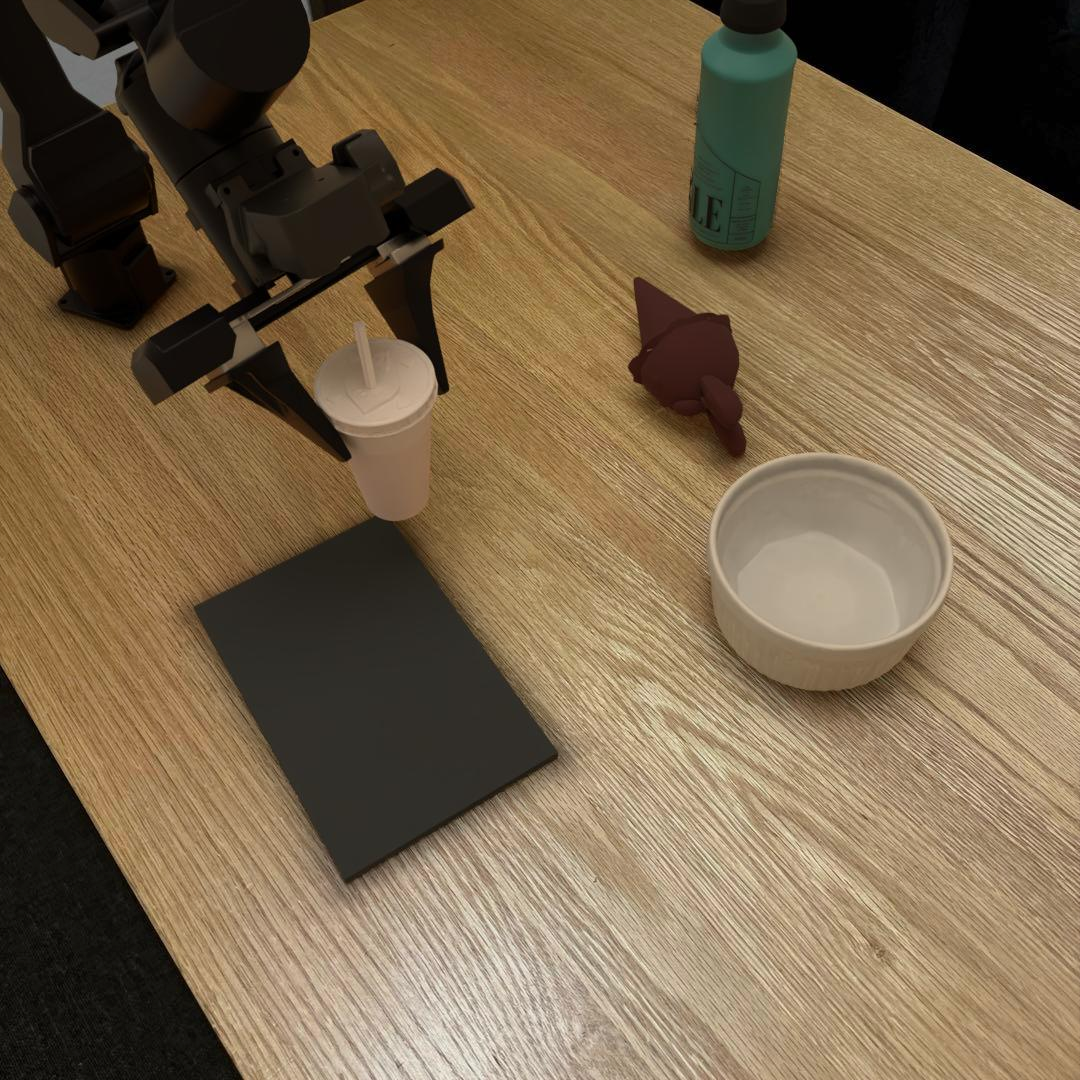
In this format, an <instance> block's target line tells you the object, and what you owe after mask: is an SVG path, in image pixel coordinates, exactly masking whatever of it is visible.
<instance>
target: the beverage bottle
mask: <svg viewBox="0 0 1080 1080" xmlns="http://www.w3.org/2000/svg"><path fill="white" fill-rule="evenodd" d="M719 11H720V12H719V18H720V21H721V23H722V24H723V26H721V27H720V28H718V29H716V30H715V31H714V32H713V33H711V34H710V35H709V36H708V37H707V38H706V39H705V41H704V42H703V44H702V46H701V49H700V61H701V62H700V74H699V75H700V76H699V85H697V86H698V93H696V94H695V96H696V98H697V99H696V102H695V105H696V106H697V107H695V108H694V109H695V113H696V114H695V116H694V119H696V122H694V123H693V125H694V126H695V136H694V146H693V153H692V155H693V162H692V164H691V166H690V171H691V172H690V178H689V185H688V186H689V187H688V188H689V190H688V203H687V204H688V205H687V206H688V213H689V214H687V217H686V218H688V220H687V221H688V224H689V226H690V228H691V231H692V233H693V234H694V236H695V237H696V239H698V240H699V241H700V242H702V243H703V244H706V245H707V246H709V247H711V248H714V249H717V250H724V251H741V250H747V249H750V248H752V247H755V246H757V245H759V244H760V243H762V242H763V241H764V240H765V239H766V238H767V237H768V235H769V233H770V231H771V229H773V228H774V226H775V224H776V222H774V221H776V217H777V210H778V203H779V197H780V196H779V195H780V186H779V183H781V180H782V179H780V178H782V176H783V174H782V172H781V169H783V168H784V167H783V166H784V165H783V164H784V163H783V162H784V158H783V155H784V152H785V151H784V148H786V143H787V142H786V137H785V136H786V128H787V120H788V115H789V109H790V107H789V106H790V99H791V93H792V88H793V87H792V86H793V79H794V73H795V68H796V67H795V66H796V64H797V60H798V50H797V47H796V44H795V43H794V42H793V40H792V39H791V37H789V35H788V34H786V32H784V31H783V30H782V29H781V27H783V25H784V24H785V22H786V20H787V11H788V9H787V0H722V2H721V5H720V10H719Z"/></svg>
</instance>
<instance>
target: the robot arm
mask: <svg viewBox="0 0 1080 1080" xmlns="http://www.w3.org/2000/svg"><path fill="white" fill-rule="evenodd" d="M49 40H50V41H51V42H53V43H54V44H56V45H59V46H61V47H63V48H65V50H67V51H69V52H70V53H71V54H73V55H75V56H78V57H81V56H82V57H85V58H86V59H88V60H91V61H96V60H99V59H100V58H101V57H102V58H103V57H104V56H106V55H109V54H111V53H112V52H115V51H117V50H119V49H121V48H123V47H125V46H127V45H129V44H131V43H135V45H136V47H137V48H135V49H133V50H131V51H129V52H127V53H125V54H123V55H121V56H119V57H117V58H115V59H114V66H115V70H116V86H115V90H114V98H115V102H116V106H117V108H118V110H119V112H120V113H121V115H123V116H126V117H127V116H128V117H129V119H130V120H131V122H132V123H133V125H134V127H135V129H136V130H137V132H138V133H139V135H140V136H141V138H142V140H143V141H144V142H145V143H146V145H147V147H148V149H150V151H151V152H152V154H153V156H154V158H155V159H156V160H157V162H158V163H159V165H160V166H161V168H162V170H163V171H164V173H165V174H166V176H167V177H168V179H169V181H170V182H171V184H172V185H173V187H174V188H175V190H176V191H177V193H178V194H179V196H180V197H181V199H182V201H183V202H184V204H185V205H186V206H187V208H188V209H187V211H186V212H185V213H184V216H186V218H187V220H188V221H189V223H190V225H191V226H192V227H193V229H194V230H195V231H196V232H198V231H200V230H201V229H202V231H203V232H204V234H205V235H206V237H207V239H208V241H209V242H210V244H211V245H212V246H213V248H214V249H215V251H216V252H217V255H219V257H220V259H221V260H222V262H223V263H224V265H225V266H226V268H227V270H228V271H229V272H230V274H231V275H232V277H233V278H234V280H235V281H233V282H232V283H231V287H232V288H233V290H234V291H235V293H236V294H237V296H238V297H239V300H238V301H236V302H235V303H233V304H231V305H230V306H228V307H226V308H225V309H223V310H220V311H219V310H218V309H216V307H214V306H213V305H212V304H210V303H209V302H207V303H205V304H204V305H202V306H200V307H199V308H196V309H195V310H194V311H192V312H189V313H188V314H187V315H185V316H183V317H182V318H180V319H178V320H176V321H175V322H173V323H171V324H170V325H167V326H166V327H165V328H163V329H161V330H159V331H158V332H156V333H154V334H153V335H151V336H149V337H148V338H147V339H146V340H145V341H144V342H142V343H141V344H140V345H139V346H138V347H137V348H136V349H134V350H133V352H132V353H131V359H130V360H131V361H130V370H131V372H132V374H133V377H134V379H135V380H136V382H137V383H138V385H139V386H140V388H141V389H142V390H143V392H144V394H145V396H147V398H148V399H149V401H150V402H151V403H152V405H153V407H156V406H157V405H159V404H160V403H163V402H164V401H166V400H167V399H169V398H171V397H173V396H174V395H175V394H178V393H179V392H180V391H182V390H184V389H185V388H187V387H188V386H190V385H192V384H194V383H195V382H197V381H199V380H200V379H202V378H203V377H205V376H206V378H207V379H208V382H206V383H205V384H203V388H204V389H205V391H206V392H207V393H208V394H212V393H214V392H216V391H217V390H219V389H221V388H223V387H225V388H226V389H229V390H231V392H234V393H236V394H237V395H239V396H240V397H243V398H245V399H246V400H247V401H250V402H251V403H253V404H255V405H257V406H258V407H261V408H263V409H264V410H266V411H267V412H269V413H271V414H272V415H274V416H275V417H277V418H278V419H280V420H281V421H282V422H283V423H285V424H287V425H288V426H290V427H291V428H292V429H294V430H295V431H296V432H298V433H299V434H301V436H303V437H305V438H306V439H308V440H309V441H310V442H311V443H313V444H315V445H316V446H317V447H318V448H320V449H321V450H322V451H324V452H325V453H327V454H328V455H330V456H331V457H333V459H334V460H337V462H340V463H342V464H343V463H348V462H347V461H349V460H350V459H351V458H352V456H351V453H350V452H349V450H348V448H347V446H346V445H345V443H344V441H343V439H342V438H341V436H340V434H339V433H338V431H337V430H336V429H335V427H334V426H333V425H332V423H331V422H330V421H329V419H328V418H327V417H326V415H325V414H324V413H323V412H322V410H321V409H320V408H319V406H318V405H317V404H316V401H315V399H314V398H313V397H312V396H311V394H310V393H309V392H308V390H307V389H306V388H305V387H304V385H303V384H302V383H301V381H300V380H299V379H298V377H297V376H296V375H295V373H294V372H293V370H292V368H291V366H290V363H289V361H288V359H287V357H286V354H285V351H284V350H283V347H282V345H281V342H280V341H279V340H276V341H274V342H272V343H271V344H269V345H268V346H267V345H265V343H264V342H263V339H262V338H261V337H260V335H259V334H258V332H260V331H262V330H263V329H264V328H266V327H267V326H269V325H271V324H272V323H274V322H276V321H277V320H279V319H281V318H282V317H284V316H286V315H287V314H289V313H290V312H293V311H294V310H295V309H297V308H299V307H300V306H301V305H303V304H305V303H307V302H308V301H310V300H312V299H313V298H315V297H316V296H318V295H320V294H322V293H323V292H324V291H327V290H328V289H329V288H331V287H333V286H334V285H336V284H338V283H339V282H341V281H342V280H344V279H346V278H347V277H349V276H350V275H352V274H354V273H355V272H357V271H359V270H361V269H362V268H363V267H366V268H367V269H368V271H369V273H370V274H371V277H373V279H372V280H371V281H369V282H367V283H366V284H364V285H363V286H362V287H363V288H364V290H365V291H366V293H367V295H368V296H369V298H370V300H371V301H372V303H373V304H374V306H375V307H376V310H378V312H379V314H380V315H381V317H382V318H383V319H384V321H385V323H386V324H387V326H388V327H389V329H390V331H391V332H392V334H393V335H394V337H395V339H399V340H402V341H405V342H408V343H410V344H413V345H414V346H416V347H418V348H419V349H420V350H422V351H423V352H424V353H425V354H426V355H427V356H428V358H429V359H430V361H431V362H432V364H433V367H434V371H435V376H436V379H437V383H438V391H437V396H439V397H440V396H443V395H445V394H447V393H448V392H450V382H449V379H448V374H447V370H446V366H445V360H444V356H443V353H442V352H443V351H442V346H441V342H440V338H439V334H438V329H437V324H436V320H435V314H434V309H433V307H434V306H433V300H432V299H433V298H432V289H431V279H432V273H433V265H434V259H435V257H436V255H437V254H438V253H440V252H441V251H443V250H444V249H445V241H444V238H443V237H441V238H440V239H438V240H436V241H435V242H433V243H432V242H431V240H430V238H429V237H431V236H433V235H434V234H436V233H437V232H439V231H441V230H442V229H444V228H445V227H447V226H449V225H451V224H452V223H453V222H455V221H457V220H458V219H460V218H462V217H463V216H465V215H466V214H468V213H470V212H471V211H473V210H474V209H476V206H475V204H474V203H473V200H471V199H472V198H470V196H469V194H468V192H467V191H466V189H465V187H464V186H463V183H462V182H461V180H460V179H458V178H457V177H455V176H454V175H453V174H451V173H449V172H448V171H445V170H443V169H441V168H439V167H435V168H434V169H432V170H430V171H429V172H427V173H425V174H424V175H422V176H420V177H418V178H417V179H415V180H413V181H411V182H410V183H408V184H407V185H406V182H405V179H404V177H403V175H402V172H401V170H400V167H399V164H398V162H397V160H396V159H395V157H394V155H393V154H392V152H391V151H390V150H389V148H388V147H387V145H386V144H385V142H384V140H383V139H382V137H381V136H380V135H379V133H378V132H377V130H376V129H373V128H361V129H359V130H357V131H355V132H353V133H351V134H349V135H347V136H346V137H343V138H342V139H341V140H339V141H337V142H335V143H333V144H332V146H331V155H332V160H331V161H329V162H327V163H325V164H324V165H321V166H318V167H317V166H316V165H315V164H314V163H313V162H312V161H311V160H310V159H309V158H308V155H307V154H306V152H305V151H304V149H303V148H302V147H301V146H300V145H298V144H297V142H296V141H295V139H294V138H293V137H291V138H290V139H288V140H286V141H283V139H282V137H281V135H280V134H279V133H278V131H277V129H276V127H274V124H273V122H272V121H271V120H270V118H269V117H268V116H269V115H267V112H269V110H270V109H271V107H273V105H274V104H275V103H276V102H277V100H278V99H279V98H280V97H281V95H282V94H283V93H284V92H285V90H286V89H287V88H288V87H289V86H290V84H291V83H292V81H293V80H294V79H295V78H296V77H297V76H298V74H299V73H300V71H301V69H302V68H303V66H304V65H305V63H306V62H307V58H308V55H309V51H310V47H311V26H310V21H309V17H308V12H307V10H306V7H305V5H304V3H303V0H0V110H1V111H2V129H1V130H2V131H1V160H2V164H3V166H4V168H5V170H6V171H7V173H8V175H9V177H10V179H11V181H12V182H13V185H14V187H15V190H14V191H13V192H12V194H11V198H10V201H9V205H8V208H7V215H8V216H9V218H10V220H11V222H12V224H13V225H14V227H15V228H16V231H17V232H18V234H19V235H20V237H21V239H22V240H23V241H24V242H25V243H26V244H27V245H28V246H29V247H30V248H31V249H33V250H34V251H35V252H36V253H37V254H38V255H39V256H40V257H41V258H43V260H44V261H46V262H47V263H48V264H49V265H50V266H51V267H52V268H53V269H54V270H56V269H60V272H61V274H62V276H63V278H64V280H65V283H66V285H67V287H68V290H66V292H65V293H63V295H62V296H61V297H60V298H58V300H57V303H56V304H57V307H58V309H59V310H60V311H62V312H65V313H69V314H72V315H75V316H78V317H82V318H84V319H88V320H92V321H94V322H98V323H101V324H104V325H107V326H110V327H114V328H117V329H120V330H123V331H129V330H131V329H134V327H135V326H136V325H137V323H138V322H139V321H140V320H141V319H142V318H143V317H144V316H145V315H146V313H148V311H149V310H150V309H151V308H152V307H153V306H154V305H155V304H156V302H157V301H158V300H159V299H160V298H161V297H162V295H163V294H165V292H166V291H167V290H168V289H169V288H170V287H171V286H172V284H174V282H176V280H177V278H178V274H177V271H176V270H175V269H174V268H171V267H170V268H169V267H167V266H164V265H160V264H159V261H158V258H157V256H156V253H155V250H154V247H153V245H152V243H149V242H148V239H147V237H146V236H147V235H146V234H145V231H144V228H143V226H142V221H143V220H145V219H147V218H149V217H151V216H152V217H153V216H155V215H157V214H158V213H160V211H159V201H158V193H157V187H156V179H155V172H154V167H153V165H152V163H151V162H150V160H151V158H150V154H149V153H148V152H147V151H145V150H143V149H141V147H140V146H139V145H138V144H137V142H135V140H134V139H132V137H131V136H129V135H128V134H127V131H126V128H125V127H124V124H123V122H122V120H121V119H120V118H119V117H118V116H117V115H115V114H114V113H113V112H112V111H111V110H109V109H103V108H102V107H100V106H99V105H98V104H96V103H95V102H93V101H92V100H90V99H89V98H88V97H86V96H85V95H84V94H82V93H80V92H79V91H77V90H76V89H75V88H74V87H73V85H72V83H71V81H70V79H69V77H68V76H67V74H66V71H65V70H64V68H63V66H62V64H61V63H60V60H59V59H58V57H57V55H56V53H55V50H54V49H53V47H52V45H51V44H50V41H49ZM284 277H286V278H287V279H288V281H289V282H290V284H291V285H290V286H289V287H287V288H284V289H283V290H282V291H280V292H279V293H277V294H275V295H274V296H271V294H270V293H269V291H270V290H271V289H273V288H275V287H276V286H277V283H276V282H277V281H279V280H281V279H283V278H284Z"/></svg>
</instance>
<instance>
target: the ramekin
mask: <svg viewBox="0 0 1080 1080" xmlns="http://www.w3.org/2000/svg"><path fill="white" fill-rule="evenodd" d="M707 529H708V530H707V535H706V541H705V558H706V565H707V569H708V573H709V577H710V588H711V599H712V605H713V613H714V615H715V618H716V621H717V625H718V627H719V629H720V630H721V634H722V636H723V637H724V638H725V640H726V642H727V643H728V645H729V646H730V647H731V648H732V649H733V650H734V652H735V653H736V655H737V656H739V657H740V658H741V659H743V661H744V662H745V663H746V664H747V665H748V666H750V667H752V668H754V669H755V670H756V671H757V672H758V673H760V674H762V675H764V676H765V677H767V678H768V679H770V680H772V681H776V682H778V683H779V684H782V685H785V686H790V687H792V688H794V689H801V690H804V691H805V690H806V691H810V692H811V691H812V692H813V691H817V692H818V691H819V692H828V691H836V692H841V691H842V690H852V689H854V688H856V687H858V686H859V687H860V686H865V685H867V684H868V683H870V682H871V681H875V680H877V679H879V678H880V677H881V676H882V675H884V674H886V673H888V672H890V671H891V670H892V669H893V667H894V666H896V665H897V664H898V663H900V661H902V659H904V657H905V656H906V654H907V653H908V652H909V651H910V650H911V649H912V647H913V646H914V644H915V643H916V641H917V640H918V639H919V637H920V636H922V635H923V634H924V633H925V632H926V631H927V630H928V629H929V627H931V625H932V624H933V623H934V622H935V621H936V619H937V617H938V616H939V615H940V612H941V611H942V609H943V607H944V605H945V603H946V601H947V598H948V594H949V593H950V588H951V585H952V582H953V577H954V570H955V554H954V548H953V543H952V540H951V536H950V533H949V531H948V529H947V526H946V524H945V522H944V519H943V518H942V516H941V515H940V512H938V510H937V509H936V507H935V506H934V505H933V504H932V502H931V501H930V499H929V498H928V497H927V496H926V495H925V494H924V493H923V492H922V491H921V490H919V489H918V488H917V486H915V485H914V484H913V483H912V482H910V481H909V480H907V479H906V478H905V477H903V476H901V475H900V474H899V473H897V472H895V471H893V470H891V469H890V468H888V467H885V466H883V465H881V464H879V463H876V462H874V461H871V460H868V459H865V458H861V457H858V456H854V455H850V454H844V453H837V452H825V451H813V452H812V451H810V452H799V453H792V454H789V455H788V454H787V455H784V456H780V457H776V458H772V459H771V460H768V461H765V462H763V463H760V464H759V465H757V466H755V467H753V468H751V469H749V470H748V471H746V472H745V473H743V474H742V475H741V476H740V477H738V478H737V479H736V480H735V481H734V482H733V483H732V484H730V486H729V487H728V488H727V489H726V491H725V492H724V493H723V494H722V495H721V497H720V499H719V500H718V502H717V503H716V506H715V507H714V510H713V512H712V515H711V518H710V521H709V525H708V528H707Z"/></svg>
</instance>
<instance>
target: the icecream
mask: <svg viewBox="0 0 1080 1080" xmlns="http://www.w3.org/2000/svg"><path fill="white" fill-rule="evenodd" d="M632 282H633V283H632V284H633V292H634V300H635V306H636V315H637V322H638V330H639V336H640V344H641V345H640V346H641V349H640V351H639V352H638V354H637V355H636V356H634V357H633V358H631V359H630V361H629V363H628V365H627V368H628V369H627V370H628V371H629V373H630V374H631V376H632V381H633V383H636V384H639V385H641V386H643V387H644V389H645V390H646V392H648V393H649V394H650V395H651V396H652V397H653V398H655V399H656V400H657V402H658V405H659V407H661V408H664V409H669V410H671V411H673V412H674V413H675V414H676V415H678V416H681V417H685V418H693V417H696V416H699V415H701V414H703V413H705V414H706V416H707V419H708V423H709V424H710V426H711V428H712V430H713V432H714V434H715V436H716V438H717V440H718V442H719V444H721V446H722V447H723V448H724V451H726V452H727V454H728V455H730V456H731V457H732V458H733V459H734V458H740V457H741V456H742V455H743V454H744V453H745V452H746V450H747V443H748V441H747V438H746V435H745V431H744V428H743V425H742V424H741V423H740V421H741V419H742V416H743V411H744V404H743V402H742V400H741V398H740V397H739V395H738V393H737V392H736V391H735V390H734V387H735V383H736V379H737V376H738V373H739V369H740V351H739V349H738V345H737V343H736V340H735V339H734V336H733V329H732V326H731V325H732V324H731V318H730V316H729V315H728V314H724V313H721V314H717V313H714V312H710V311H709V312H699V313H696V312H695V311H694V310H692V309H690V308H689V307H687V306H686V305H684V304H683V303H681V302H680V301H678V300H677V299H675V298H673V297H672V296H670V295H669V294H667V293H666V292H664V291H663V290H661V289H660V288H658V287H656V285H654V284H652V283H650V282H649V281H648V280H646V279H645V278H643V277H641V276H636V277H634V278H633V281H632Z"/></svg>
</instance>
